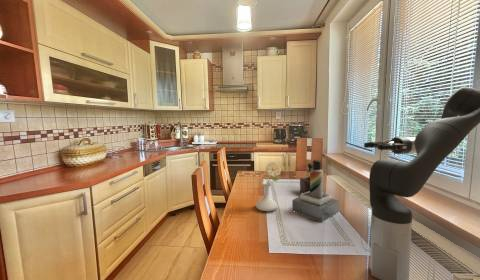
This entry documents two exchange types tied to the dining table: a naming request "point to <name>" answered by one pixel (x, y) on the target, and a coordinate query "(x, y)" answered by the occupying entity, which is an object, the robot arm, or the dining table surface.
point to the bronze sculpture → (306, 181)
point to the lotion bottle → (316, 180)
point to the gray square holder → (316, 206)
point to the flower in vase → (266, 201)
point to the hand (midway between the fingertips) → (371, 146)
